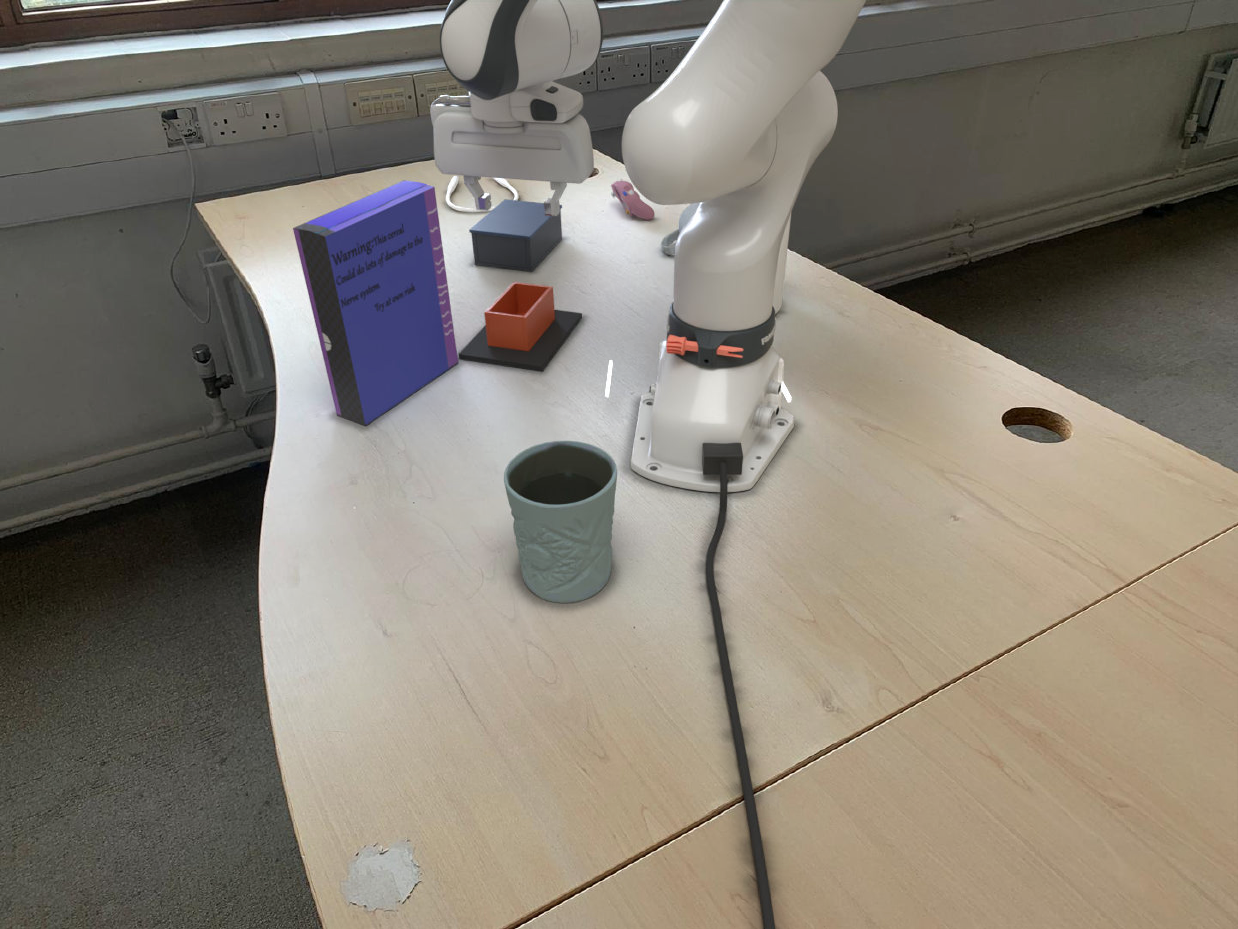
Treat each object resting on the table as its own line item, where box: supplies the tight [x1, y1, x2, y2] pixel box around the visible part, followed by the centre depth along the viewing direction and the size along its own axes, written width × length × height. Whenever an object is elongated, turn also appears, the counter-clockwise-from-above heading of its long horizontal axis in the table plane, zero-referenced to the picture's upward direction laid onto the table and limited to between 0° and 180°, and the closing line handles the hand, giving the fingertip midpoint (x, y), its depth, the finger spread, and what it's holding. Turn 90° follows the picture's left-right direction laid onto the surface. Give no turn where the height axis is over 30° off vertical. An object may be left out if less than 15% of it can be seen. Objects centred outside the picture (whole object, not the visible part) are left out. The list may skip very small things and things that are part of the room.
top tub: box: [483, 281, 555, 351], centre depth 124 cm, size 10×6×5 cm, turn 163°
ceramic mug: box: [660, 203, 699, 256], centre depth 147 cm, size 11×8×8 cm
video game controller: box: [610, 178, 655, 221], centre depth 162 cm, size 10×5×7 cm, turn 17°
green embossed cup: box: [503, 440, 618, 604], centre depth 83 cm, size 10×10×12 cm
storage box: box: [468, 198, 563, 273], centre depth 148 cm, size 14×10×6 cm
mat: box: [458, 309, 583, 372], centre depth 125 cm, size 16×12×1 cm
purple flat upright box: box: [292, 179, 459, 427], centre depth 108 cm, size 17×5×24 cm, turn 149°
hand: (517, 211), depth 115 cm, fingers open, 8 cm apart
